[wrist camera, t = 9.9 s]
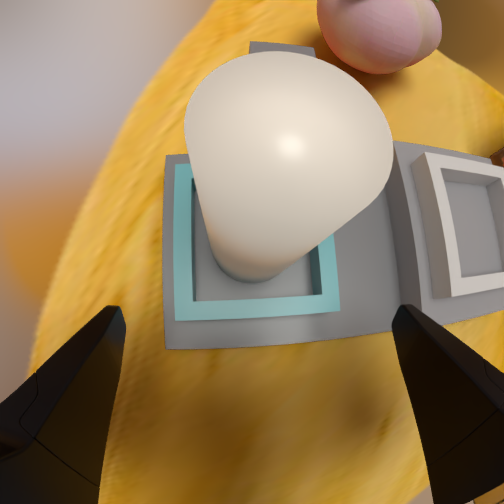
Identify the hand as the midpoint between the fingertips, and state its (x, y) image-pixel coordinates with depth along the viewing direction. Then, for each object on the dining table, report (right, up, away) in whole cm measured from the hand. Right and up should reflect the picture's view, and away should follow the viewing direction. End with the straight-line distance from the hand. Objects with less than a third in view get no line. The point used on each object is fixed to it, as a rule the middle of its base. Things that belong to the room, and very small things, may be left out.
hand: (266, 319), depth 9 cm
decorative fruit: (+8, +17, +11) cm, 21 cm away
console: (+6, +3, +7) cm, 10 cm away
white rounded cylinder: (0, +3, +6) cm, 6 cm away
